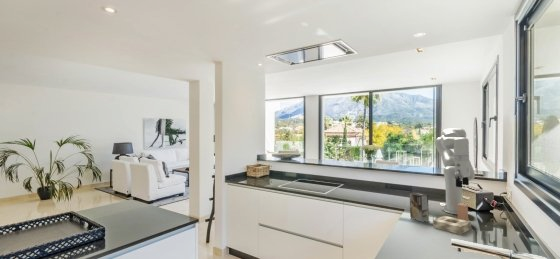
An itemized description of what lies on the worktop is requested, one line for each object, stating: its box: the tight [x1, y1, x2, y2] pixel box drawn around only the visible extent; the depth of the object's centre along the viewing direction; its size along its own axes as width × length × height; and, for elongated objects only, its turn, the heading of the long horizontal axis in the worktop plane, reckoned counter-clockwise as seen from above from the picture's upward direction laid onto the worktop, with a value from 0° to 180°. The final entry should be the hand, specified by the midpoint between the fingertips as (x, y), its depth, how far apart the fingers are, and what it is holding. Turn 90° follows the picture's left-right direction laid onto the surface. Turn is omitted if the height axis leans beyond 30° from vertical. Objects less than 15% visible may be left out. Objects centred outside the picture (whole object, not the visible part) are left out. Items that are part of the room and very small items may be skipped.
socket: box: [432, 215, 472, 235], centre depth 147 cm, size 14×14×4 cm
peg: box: [457, 203, 469, 221], centre depth 155 cm, size 4×4×11 cm
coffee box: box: [409, 192, 430, 223], centre depth 162 cm, size 9×6×16 cm
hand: (462, 186), depth 155 cm, fingers open, 9 cm apart
